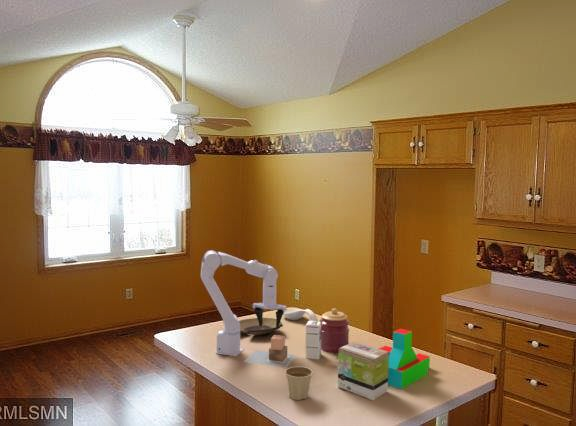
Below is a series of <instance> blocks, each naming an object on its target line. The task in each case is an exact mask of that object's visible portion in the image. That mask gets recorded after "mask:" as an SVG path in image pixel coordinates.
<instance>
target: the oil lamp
mask: <svg viewBox="0 0 576 426" xmlns="http://www.w3.org/2000/svg"><path fill="white" fill-rule="evenodd" d="M238 321H239V322H240V333H243V334H246V335H248V336H249V335H251V336H262V335H265V334H268V333H272V332H274V331H276V330H279V329H281V328H282V327H284V324H283V323H282V322H281V321H282V320H281V321H280V325H279V327H278V328H276V318H272V317H270V318H269V317H263V323H262V325H261V326H259V321H258V318H257V317H255V318H246V319H242V320H241V319H240V320H238Z"/></svg>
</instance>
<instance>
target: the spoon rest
mask: <svg viewBox="0 0 576 426" xmlns="http://www.w3.org/2000/svg"><path fill="white" fill-rule="evenodd" d="M305 314H307V315H308V316H309V318H310V321H319V320H318V317H317V315H316V313H314V312H313V311H312V310H311V309H309V308H306V309H300V308H291V309H290V308H289V309H286V311H284V313H283V315H282V317H283V316H284V318H285V319H288V320H290V321H298V320H300V319H301V318H302V317H303V316H304V315H305Z"/></svg>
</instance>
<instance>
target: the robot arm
mask: <svg viewBox="0 0 576 426" xmlns="http://www.w3.org/2000/svg"><path fill="white" fill-rule="evenodd" d="M226 265H229V266H234V267H236V268H240V269H244V270H245V272H246V273H247V274H249V275H250V276H251V275H252V276H254V277H258V278H263V279H262V280H263V284H262V302H254V303H253V304H252V309H254V311H253V312H254V314H255V316H256V318H258V321H259V326H261V325H262V323H263V318H264V316H263V315H264V310H270V311H271V310H272V311H273V310H274V311H275V319H276V328H278V327H279V325H280V321H282V317H283V313H284V311H286V310H287V305H283V304H277V279H278V277H279V274H278V271H277V270H276V269H275V268H274V266H272V265H268V263H265V264H264V263H261V262H259V261H258V260H257V259H254V260H252V259H251V260H249V261H246V260H244V259H241V258H238V257H236V256H233V255H230V254H228V253H225V252H222V251H215V250H213V249H211V250H207V251H206V252H205V253H204V255H203V257H202V259H201V266H200V279H201V281H202V283H203V285H204V287H205V289H206V290H207V292H208V295H209V296H210V297H211V299H212V301H213V303H214V305H215V307H216V309H217V311H218V313H219V314H220V315H221V318H222V322H223V325H224V328H223V329H221V330H219V331H218V332H217V334H216V335H217V336H216V352H215V354H217V355H225V356H232V357H237V356H239V355H240V354H241V353H242V352H243V351H244V348H241V332H240V322H239V321H240V320H239V318H238V316H237V315H236V314H235V313H233V311H232V310H231V308H230V306H229V305H228V302H227V301H226V299H225V297H224V295H223V293H222V292H221V290H220V287H219V286H218V284H217V282H216V280H215V279H214V275H215V272H216V270H217V269H218V268H219V267H222V266H223V267H224V266H226Z"/></svg>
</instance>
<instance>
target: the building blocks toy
mask: <svg viewBox="0 0 576 426" xmlns="http://www.w3.org/2000/svg"><path fill="white" fill-rule="evenodd" d="M392 333H393V334H392V346H388V345H384V346H382V347H381V346H380V348H379V347H378V349H381V350H384V351H388V352H389V365H388V386H391V387H394V388H397V389H400V390H403V389H404V388H406V387H408V386H410V385H411V384H412V383H415V382H416V381H418V380H419V379H421V378H423V377H425V376H426V375H428V373H429V372H428V369H430V358H431V357H430V356H429V355H427V354H426V355H425V354H423V353H420V352H419V353H416V352H415V350H414V348H413V346H412V344H413V343H412V341H413V340H412V339H413V338H412V337H413V331H412V330H408V329H405V328H404V329H403V328H398V329H396V330H394V331H393V332H392Z"/></svg>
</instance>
